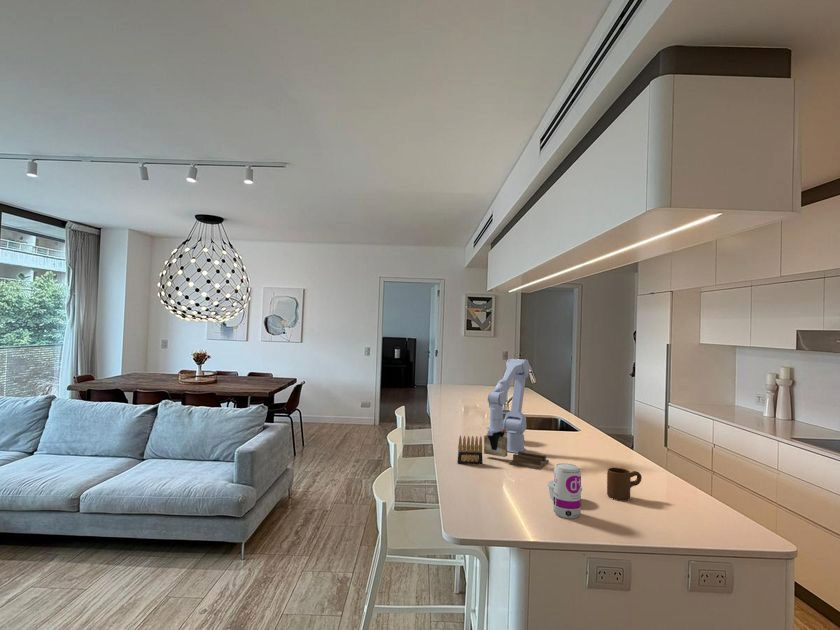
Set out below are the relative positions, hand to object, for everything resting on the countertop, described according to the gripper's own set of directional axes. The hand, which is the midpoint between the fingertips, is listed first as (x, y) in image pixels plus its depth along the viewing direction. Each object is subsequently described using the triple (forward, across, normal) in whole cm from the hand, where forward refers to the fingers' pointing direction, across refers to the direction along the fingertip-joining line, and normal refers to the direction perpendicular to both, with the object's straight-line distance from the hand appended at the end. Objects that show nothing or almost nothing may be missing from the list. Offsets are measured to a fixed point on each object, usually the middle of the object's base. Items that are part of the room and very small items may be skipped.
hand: (495, 448), depth 218 cm
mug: (+4, +21, +57) cm, 61 cm away
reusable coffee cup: (+5, -37, -10) cm, 39 cm away
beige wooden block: (+2, 0, 0) cm, 2 cm away
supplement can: (+4, +49, +44) cm, 66 cm away
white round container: (+5, +36, +40) cm, 54 cm away
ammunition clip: (+5, +14, -6) cm, 16 cm away
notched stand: (+4, -2, +15) cm, 16 cm away
